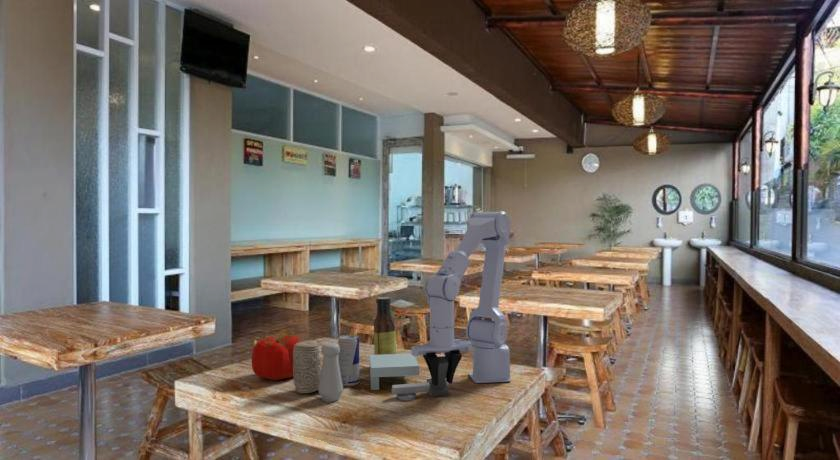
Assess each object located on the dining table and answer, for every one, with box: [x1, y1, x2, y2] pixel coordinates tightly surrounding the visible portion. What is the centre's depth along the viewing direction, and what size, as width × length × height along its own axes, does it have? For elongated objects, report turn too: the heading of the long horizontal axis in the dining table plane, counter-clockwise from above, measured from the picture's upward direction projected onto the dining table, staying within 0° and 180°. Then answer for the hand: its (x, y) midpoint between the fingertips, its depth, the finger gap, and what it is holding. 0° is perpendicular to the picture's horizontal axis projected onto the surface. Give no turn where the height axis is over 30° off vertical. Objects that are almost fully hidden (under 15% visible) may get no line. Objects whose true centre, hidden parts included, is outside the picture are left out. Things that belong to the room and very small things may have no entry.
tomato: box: [251, 334, 302, 381], centre depth 136 cm, size 14×13×10 cm
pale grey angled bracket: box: [369, 352, 420, 391], centre depth 131 cm, size 12×12×6 cm
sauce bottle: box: [373, 296, 397, 355], centre depth 144 cm, size 7×6×20 cm
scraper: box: [391, 355, 450, 398], centre depth 119 cm, size 13×4×9 cm, turn 105°
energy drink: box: [337, 334, 360, 387], centre depth 130 cm, size 5×5×12 cm
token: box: [396, 393, 416, 402], centre depth 119 cm, size 4×4×1 cm
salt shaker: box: [317, 342, 344, 403], centre depth 118 cm, size 6×6×13 cm
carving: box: [292, 340, 322, 394], centre depth 124 cm, size 6×8×12 cm
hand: (442, 383), depth 119 cm, fingers open, 3 cm apart
